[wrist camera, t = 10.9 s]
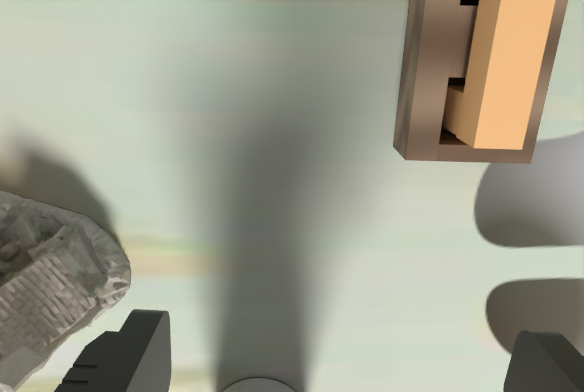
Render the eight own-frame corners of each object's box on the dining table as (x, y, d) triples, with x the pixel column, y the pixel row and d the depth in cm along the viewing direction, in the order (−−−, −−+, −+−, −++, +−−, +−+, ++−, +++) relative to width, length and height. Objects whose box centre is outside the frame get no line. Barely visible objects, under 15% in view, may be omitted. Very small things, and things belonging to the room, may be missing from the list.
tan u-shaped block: (459, -51, 30) (515, -78, 23) (502, -49, 30) (572, -76, 23) (433, 123, 34) (473, 148, 27) (471, 124, 34) (522, 149, 27)
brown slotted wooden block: (504, 149, 35) (530, 163, 31) (393, 146, 35) (405, 160, 31) (552, -82, 30) (590, -98, 26) (419, -87, 29) (438, -104, 26)
